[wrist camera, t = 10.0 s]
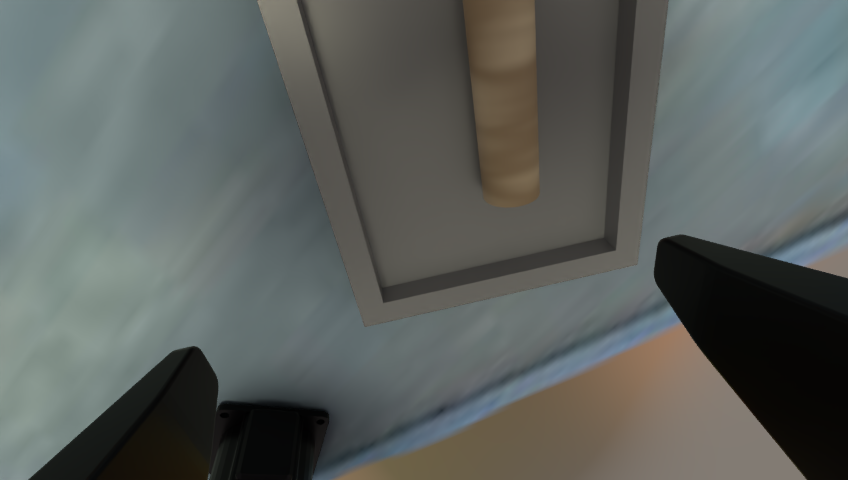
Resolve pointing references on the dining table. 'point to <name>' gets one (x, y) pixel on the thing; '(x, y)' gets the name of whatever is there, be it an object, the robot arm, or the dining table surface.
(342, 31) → the charcoal frame
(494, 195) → the wooden dowel
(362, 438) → the dining table surface
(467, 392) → the dining table surface
